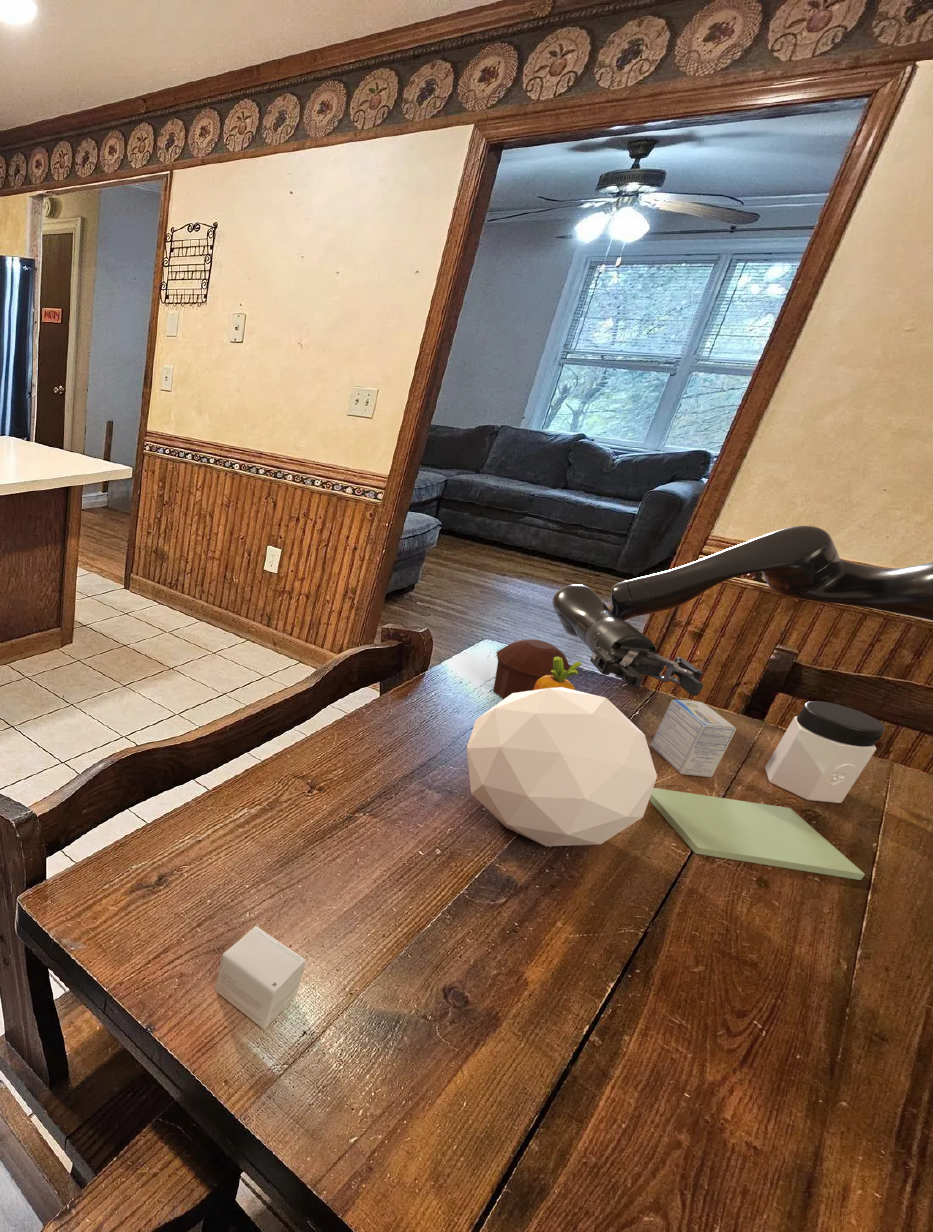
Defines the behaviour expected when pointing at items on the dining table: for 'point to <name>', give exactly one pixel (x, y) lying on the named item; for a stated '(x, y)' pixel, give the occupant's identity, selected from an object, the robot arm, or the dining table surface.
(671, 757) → the medicine box
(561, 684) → the carrot
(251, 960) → the small box
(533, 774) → the ball
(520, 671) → the muffin
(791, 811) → the mat
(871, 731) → the jar
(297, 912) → the dining table surface
